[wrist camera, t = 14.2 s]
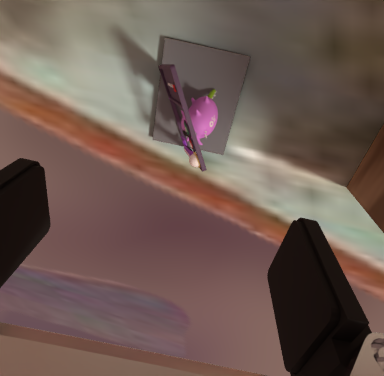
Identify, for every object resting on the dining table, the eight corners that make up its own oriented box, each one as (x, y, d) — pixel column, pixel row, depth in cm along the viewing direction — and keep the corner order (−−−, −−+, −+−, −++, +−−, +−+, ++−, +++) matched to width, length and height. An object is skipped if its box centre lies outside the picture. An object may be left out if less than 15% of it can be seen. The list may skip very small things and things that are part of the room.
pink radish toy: (160, 69, 19) (195, 175, 24) (225, 46, 20) (248, 154, 24) (150, 68, 25) (180, 153, 29) (201, 50, 26) (223, 136, 30)
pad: (249, 56, 25) (250, 56, 24) (223, 152, 30) (223, 154, 30) (166, 37, 25) (164, 37, 24) (153, 137, 30) (152, 139, 29)
